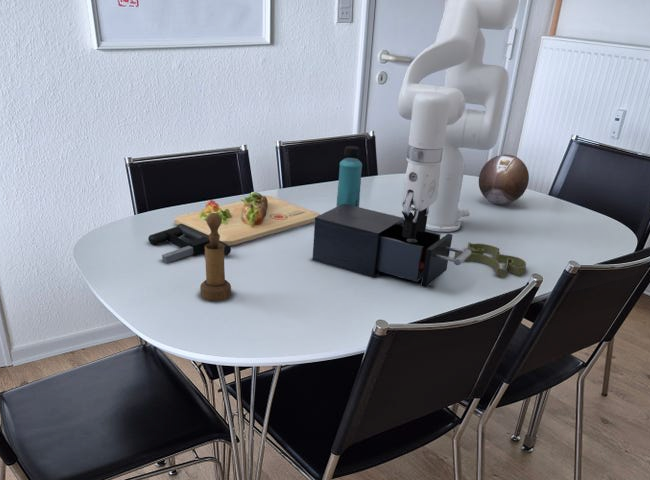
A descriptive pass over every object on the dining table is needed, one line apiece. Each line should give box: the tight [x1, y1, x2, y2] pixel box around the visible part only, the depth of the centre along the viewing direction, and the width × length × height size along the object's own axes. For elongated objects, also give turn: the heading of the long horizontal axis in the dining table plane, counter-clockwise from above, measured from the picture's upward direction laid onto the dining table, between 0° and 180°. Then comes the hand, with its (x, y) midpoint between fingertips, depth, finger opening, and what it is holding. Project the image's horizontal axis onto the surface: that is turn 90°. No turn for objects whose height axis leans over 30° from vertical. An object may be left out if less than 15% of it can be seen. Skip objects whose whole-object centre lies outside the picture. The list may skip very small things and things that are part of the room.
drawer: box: [376, 224, 472, 288], centre depth 150 cm, size 22×13×9 cm, turn 58°
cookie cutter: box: [453, 242, 527, 278], centre depth 162 cm, size 18×12×2 cm, turn 43°
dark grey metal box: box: [312, 204, 404, 278], centre depth 158 cm, size 17×14×11 cm
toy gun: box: [147, 224, 232, 264], centre depth 160 cm, size 3×20×16 cm
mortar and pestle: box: [199, 213, 232, 302], centre depth 135 cm, size 7×6×18 cm
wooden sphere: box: [478, 154, 530, 205], centre depth 203 cm, size 15×15×15 cm
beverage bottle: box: [336, 145, 363, 207], centre depth 182 cm, size 6×7×20 cm
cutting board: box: [173, 191, 321, 246], centre depth 178 cm, size 35×23×8 cm
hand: (413, 233), depth 150 cm, fingers open, 4 cm apart
